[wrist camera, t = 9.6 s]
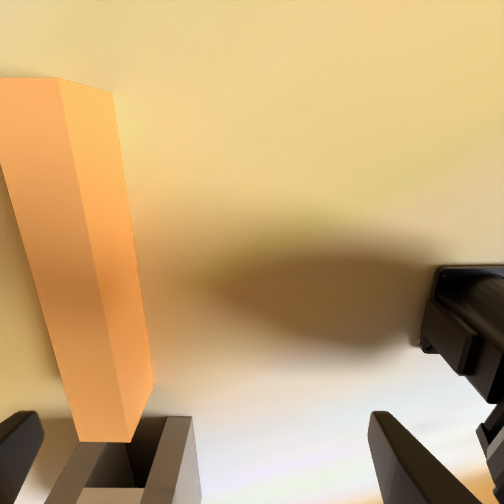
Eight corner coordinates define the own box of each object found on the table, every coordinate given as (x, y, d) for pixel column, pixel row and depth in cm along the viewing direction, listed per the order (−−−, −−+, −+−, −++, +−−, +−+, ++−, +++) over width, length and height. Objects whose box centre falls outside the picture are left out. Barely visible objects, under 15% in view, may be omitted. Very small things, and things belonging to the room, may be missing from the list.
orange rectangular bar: (56, 93, 16) (-25, 77, 12) (114, 94, 16) (57, 78, 12) (114, 381, 24) (79, 441, 19) (155, 381, 24) (130, 442, 19)
